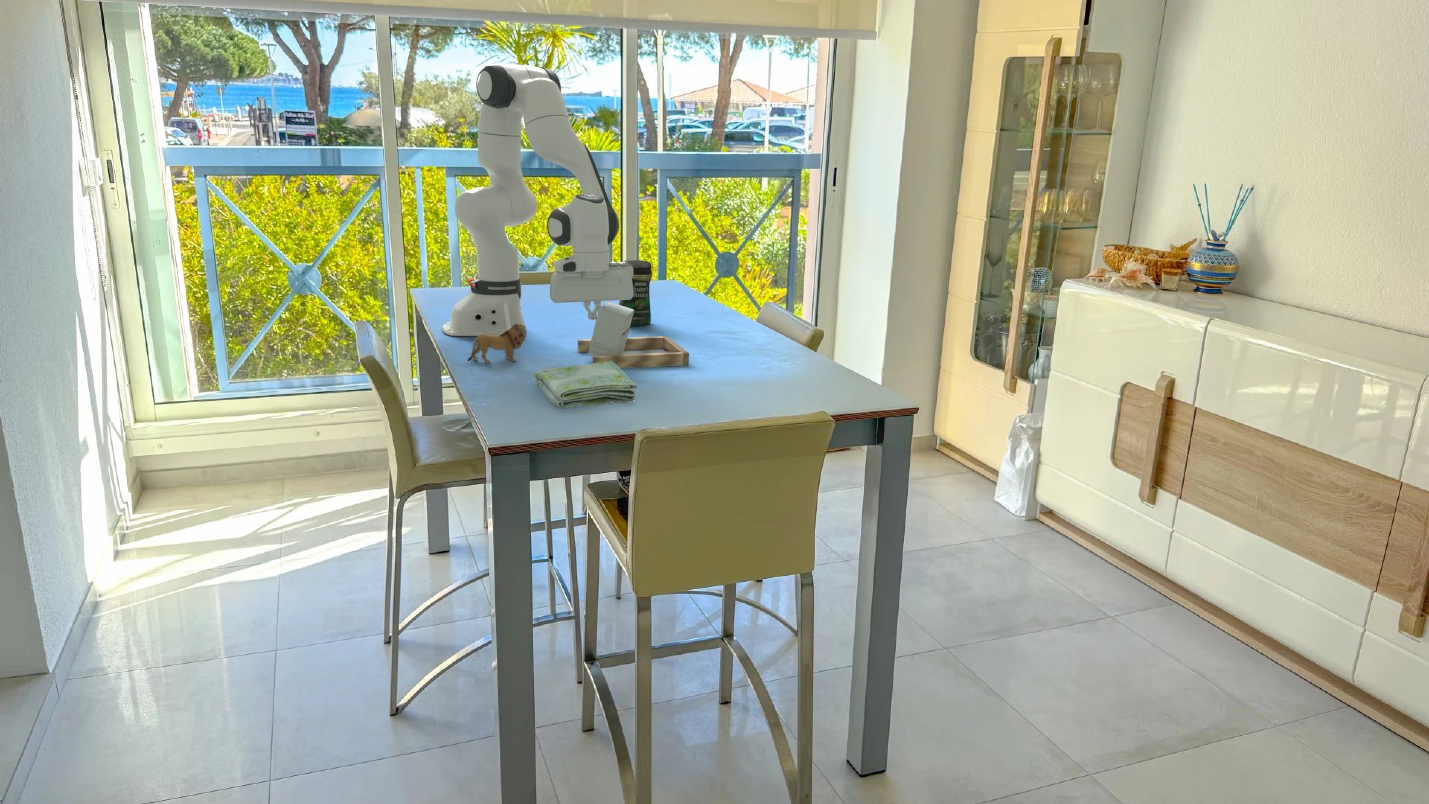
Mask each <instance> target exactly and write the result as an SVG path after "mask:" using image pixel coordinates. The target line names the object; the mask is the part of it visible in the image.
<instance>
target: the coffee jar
mask: <svg viewBox="0 0 1429 804" xmlns="http://www.w3.org/2000/svg"><path fill="white" fill-rule="evenodd" d="M620 262H627V263H628V264H631V265H632V267H633V278H632V284H633V297H632V298H631V300H618V301H619V303H618V305H621V306H624V307H627V308H631V309H633V310H634V313H633V317H632V320H631V325H630V327H633V326H634V325H635V326H636V325H637V326H647V325H650V324H651V321H652V314H651V310H652V309H651V299H650V284H651V283H650V282H651V280H652V278H653V270H652V268H653V267H652V263H651V262H650V261H648V260H641V259H640V260H639V259H638V260H637V259H635V260H634V259H632V260H621V261H620ZM627 266H629V265H627ZM637 326H636V327H637Z"/></svg>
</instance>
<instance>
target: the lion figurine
mask: <svg viewBox="0 0 1429 804" xmlns="http://www.w3.org/2000/svg"><path fill="white" fill-rule="evenodd" d="M525 326H526V325H525ZM525 326H524V325H523V324H519V323H516V324H514V325H512V326H511V328H510V329H509V330H506V331H505V332H504V333H503V334H501V335H499V336H493V335H488V334H483V335H480V336H476V338H475V340H474V342H473V344H472V345H473V346H472V349H471V354H470V356H469V358H468V359H467V362H471V361H472V360H473V361H478V360H479V357H477V354H478V353H480V352H481V359H482V360H483V361H484V363H486V364H490V363H491V360H490V359H487V354H488V353H487V352H488V351H489V348H490V349H492V350H495V351H503V350H504V351H505V352H504V353H505V354H504V355H505V356H504V357H505V359H506V360H509V362H511V363H515V362H516V359H515V358H514V351H515V350H517V349H520V348H521V346H522V344H523V343H524V342H525V341H526V338H527V329H525Z"/></svg>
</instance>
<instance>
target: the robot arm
mask: <svg viewBox="0 0 1429 804" xmlns="http://www.w3.org/2000/svg"><path fill="white" fill-rule="evenodd" d="M475 86H476V87H475V88H476V92H477V95H478V97H479V99H480V101H481V106H480V111H479V117H478V129H477V130H478V131H477V155H476V156H477V157H476V158H477V161H478V164H479V166H480V167H481V168H483V170H485V171H486V172H487V176H488V178H489V182H490V184H489V186H481V187H478V186H477V187H473V188H470V189H468V190H466V191H463V192H461V193H460V194H459V195H457V197H456V199H455V203H454V212H455V216H456V219H457V221H458V222H459V224H461V225H462V226H463V227H464V228H465V229H466V230H467V231H468V233H469V234H470V236H471V239H472V241H473V243H474V244H473V245H474V248H475V253H476V262H477V265H476V266H477V277H476V278H475V279H474V278H473V277H470V278H468V279H467V284H468V286H470V292H469V293H467V295H466V296H464V297H463V298H462V299H461V300H459V301H458V302H457V303H455V304H454V306H453V307H452V310H451V313H450V320H449V321H448V322H444V323H443V325H442V332H443V333H444V334H446V335H448V336H455V337H458V336H459V337H478V336H480V335H483V334H488V335H493V336H499V335H501V334H503V333H504V332H505V331H506V330H509V329H510V328H511V326H512V325H514V324H516V323H519V324H523V325H524V326H525V330H527V329H526V324H525V320H524V316H523V312H522V303H521V300H522V299H521V298H522V282H521V280H522V279H521V277H520V263H519V262H520V258H519V255H520V253H519V250H518V249H517V247H516V246H515V245H514V244H512V243H510V241H509V239H508V237H507V234H506V233H507V232H506V228H507V227H509V228H510V227H517V226H521V225H523V224H525V223H527V222H529V221H532V220H533V218H534V217H535V215H536V214H537V211H538V210H537V208H538V204H537V203H538V202H537V199H536V196H535V195H534V192H533V191H531V190H530V189H529V188H528V186H527V184H526V181H525V179H524V176H523V170H522V165H521V164H522V163H521V151H522V150H521V148H522V146H521V145H522V144H521V143H522V118H523V123H524V127H525V131H526V137H527V140H528V142H529V146H530V148H531V149H532V151H533V152H534V153H535V154H536V155H538V156H539V157H540V158H542V159H543V160H545V161H547V162H550V163H552V164H555V165H558V166H560V167H563V168H564V169H566V170H568V171H569V172H571V173H572V174H573V175H574V177H576V179H577V180H578V183H579V186H580V189H581V192H582V193H578V194H576V195H573V197H572V200H571V201H570V202H568V203H567V204H565V205H562V206H559V207H556V208H554V209H552V211H551V212H550V214H549V216H548V218H547V221H546V227H547V228H546V229H547V230H546V231H547V234H548V236H549V238H550V240H552V242H553V243H554V244H556V245H557V246H561V247H572V255H569V256H566V257H563V258H560V259H558V260H555V261H554V263H553V268H554V270H555V271H554V272H553V273H552V274H551V277H550V282H549V283H550V284H549V285H550V286H549V297H550V300H551V301H552V302H553V303H554V304H561V303H563V304H566V303H583V306H584V308H585V310H586V312H587V317H588V320H589V321H590V320H591V321H592V320H593V321H594V320H595V321H596V319H597V315H598V311H599V307H601V306H602V302H611V301H620V300H631V298H632V297H633V284H632V278H633V267H632V265H631V264H628V263H627V262H621V261H620V262H619V261H617V262H616V261H610V247H609V245H610V244H611V243H613V241H614V240H615V239H616V238H617V235H618V233H619V231H620V219H619V217H618V214H617V212H616V211H615V209H614V207H613V206H612V203H611V202H610V200H609V198H608V194H607V192H606V189H605V187H604V184H603V182H602V179H601V175H600V173H599V171H598V168H597V165H596V163H595V160H594V158H593V155H592V154H591V151H590V150H589V147H588V146H586V144H584V143H583V142H582V141H581V140H580V139H579V138H578V136H577V134H576V132H575V130H574V128H573V126H572V123H571V120H570V115H569V112H568V109H567V105H566V102H565V99H564V97H563V93H562V86H561V81H560V79H559V76H558V74H556V72H555V71H553V70H552V69H549V68H547V67H544V66H539V67H538V66H534V65H528V64H522V63H520V64H519V63H518V64H500V63H492V64H487V65H485V66H482V67H481V69H480V70H479V72H478V74H477V77H476V85H475ZM627 265H629V266H627ZM591 302H593V305H594V307H593V310H591V309H590V307H591Z"/></svg>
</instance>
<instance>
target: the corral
mask: <svg viewBox="0 0 1429 804" xmlns="http://www.w3.org/2000/svg"><path fill="white" fill-rule="evenodd" d="M591 340H592V338H586V339H577V352H578V353H588V352H589V348H590V344H591ZM610 361H612V362H613V363H615V364H616V365H617V366H618V367H619V368H620V369H630V368H629V367H639V368H658V367H672V366H673V367H674V366H675V365H679V366H689V365H688V364H690V353H689V352H688V351H687V350H686V349H685V348H683V347H682V346H681V345H680V344H679V343H677V342H676V341H674V340H673V339H671V337H669V336H667V335H661V336H660V335H659V336H634V337H627V340H626V344H625V348H624V352H623V355H608V356H593V355H592V364H593V363H599V362H610ZM675 367H676V366H675Z"/></svg>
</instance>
